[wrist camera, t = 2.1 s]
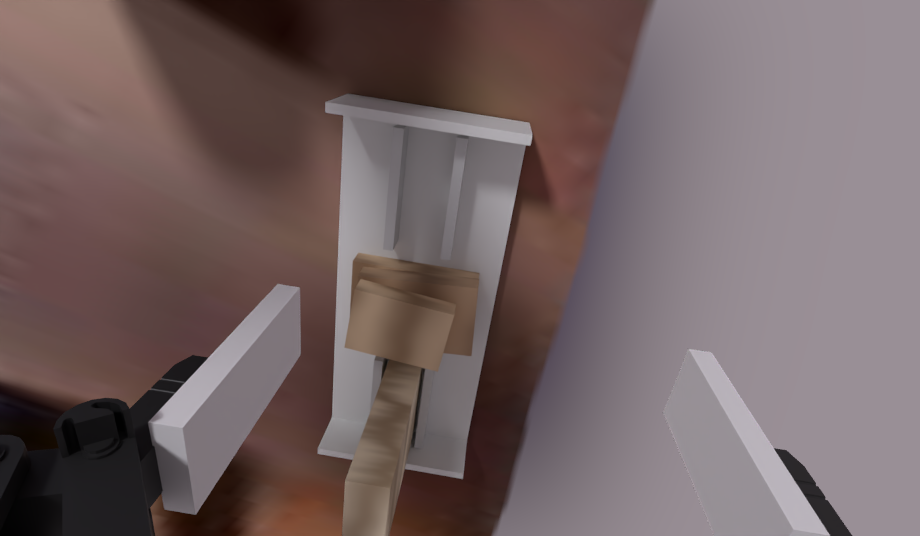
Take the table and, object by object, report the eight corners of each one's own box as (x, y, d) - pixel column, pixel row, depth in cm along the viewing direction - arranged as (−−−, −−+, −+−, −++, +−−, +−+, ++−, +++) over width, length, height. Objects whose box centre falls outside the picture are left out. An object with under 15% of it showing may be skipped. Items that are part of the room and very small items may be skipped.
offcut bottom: (354, 321, 52) (348, 331, 50) (358, 252, 48) (352, 261, 46) (467, 340, 51) (465, 351, 50) (479, 272, 48) (478, 282, 46)
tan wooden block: (385, 421, 57) (340, 563, 42) (392, 351, 53) (345, 480, 38) (414, 427, 57) (380, 570, 42) (424, 357, 53) (390, 488, 38)
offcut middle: (364, 332, 50) (359, 343, 48) (363, 266, 47) (357, 275, 45) (472, 344, 49) (471, 356, 47) (479, 278, 46) (478, 288, 44)
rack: (335, 415, 59) (317, 453, 54) (348, 93, 43) (325, 101, 38) (466, 438, 59) (462, 478, 53) (529, 122, 43) (532, 135, 37)
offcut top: (350, 335, 48) (344, 347, 46) (360, 278, 45) (354, 289, 43) (440, 359, 48) (437, 371, 46) (456, 304, 45) (454, 315, 43)
